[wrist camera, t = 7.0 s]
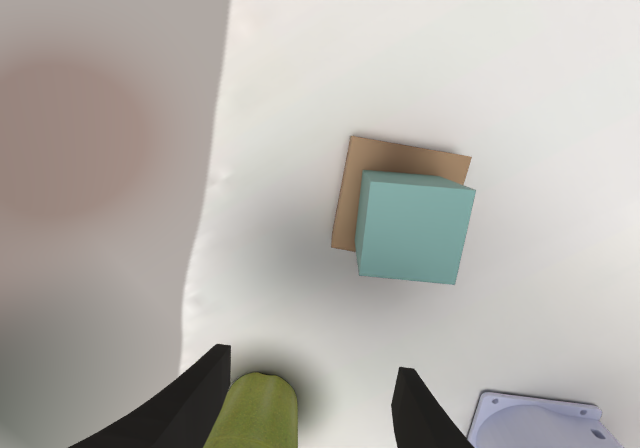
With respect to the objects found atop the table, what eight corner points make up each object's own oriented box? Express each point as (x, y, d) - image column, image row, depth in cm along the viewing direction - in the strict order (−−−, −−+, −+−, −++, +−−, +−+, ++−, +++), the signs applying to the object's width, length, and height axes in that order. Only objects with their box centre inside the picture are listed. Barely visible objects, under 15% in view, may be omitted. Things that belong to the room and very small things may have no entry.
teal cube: (439, 175, 18) (475, 190, 13) (425, 247, 19) (454, 284, 14) (362, 169, 18) (370, 181, 13) (354, 240, 19) (359, 275, 14)
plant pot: (269, 334, 25) (233, 436, 16) (338, 409, 26) (338, 535, 18) (190, 387, 27) (123, 500, 18) (259, 453, 28) (226, 584, 20)
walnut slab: (452, 154, 20) (471, 156, 17) (425, 249, 22) (438, 266, 19) (350, 136, 20) (352, 136, 17) (331, 233, 22) (331, 247, 19)
